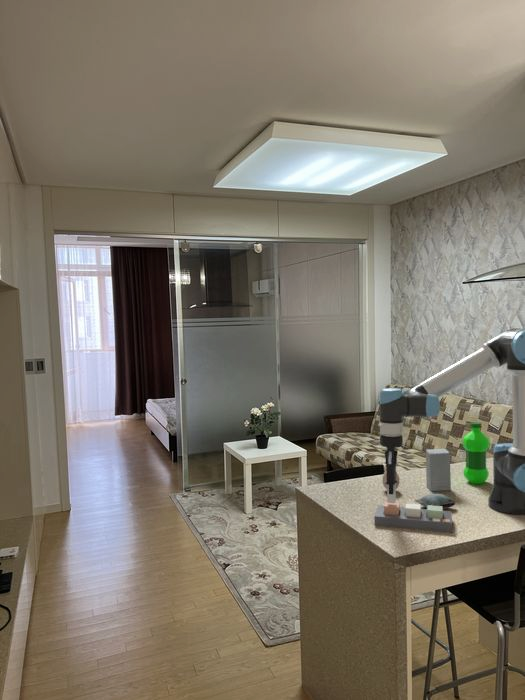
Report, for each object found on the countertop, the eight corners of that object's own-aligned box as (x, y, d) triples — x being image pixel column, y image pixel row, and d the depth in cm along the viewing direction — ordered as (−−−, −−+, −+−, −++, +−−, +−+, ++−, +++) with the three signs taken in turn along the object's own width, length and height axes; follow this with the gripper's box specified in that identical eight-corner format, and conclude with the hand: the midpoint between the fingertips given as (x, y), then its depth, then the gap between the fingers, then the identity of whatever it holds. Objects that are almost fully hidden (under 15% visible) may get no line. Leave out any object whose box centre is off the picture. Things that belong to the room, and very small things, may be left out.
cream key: (420, 516, 181) (420, 504, 180) (420, 521, 176) (420, 509, 176) (406, 514, 182) (406, 503, 182) (405, 519, 178) (405, 508, 177)
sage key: (442, 517, 178) (442, 506, 178) (442, 523, 174) (442, 511, 174) (427, 516, 180) (427, 505, 180) (427, 521, 175) (427, 509, 175)
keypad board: (451, 520, 180) (451, 510, 180) (452, 532, 170) (452, 522, 170) (378, 513, 188) (377, 504, 188) (374, 524, 178) (374, 515, 178)
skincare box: (445, 486, 217) (445, 447, 216) (451, 491, 210) (451, 452, 209) (425, 486, 217) (424, 448, 216) (430, 492, 210) (429, 452, 209)
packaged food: (414, 506, 195) (414, 493, 194) (440, 501, 199) (440, 489, 199) (430, 514, 187) (430, 501, 186) (456, 509, 191) (457, 496, 191)
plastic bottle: (490, 480, 223) (490, 421, 222) (487, 487, 214) (487, 426, 213) (465, 477, 228) (465, 419, 227) (461, 484, 219) (460, 424, 218)
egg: (398, 488, 216) (397, 466, 215) (400, 493, 209) (400, 470, 208) (381, 488, 216) (381, 466, 216) (383, 493, 210) (383, 470, 209)
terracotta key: (399, 514, 183) (399, 502, 183) (398, 519, 178) (398, 507, 178) (385, 512, 184) (385, 501, 184) (384, 517, 180) (384, 506, 180)
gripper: (381, 429, 187) (382, 495, 188) (377, 437, 175) (378, 507, 176) (403, 430, 185) (403, 497, 186) (401, 438, 172) (401, 509, 174)
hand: (391, 502), depth 181 cm, fingers closed
